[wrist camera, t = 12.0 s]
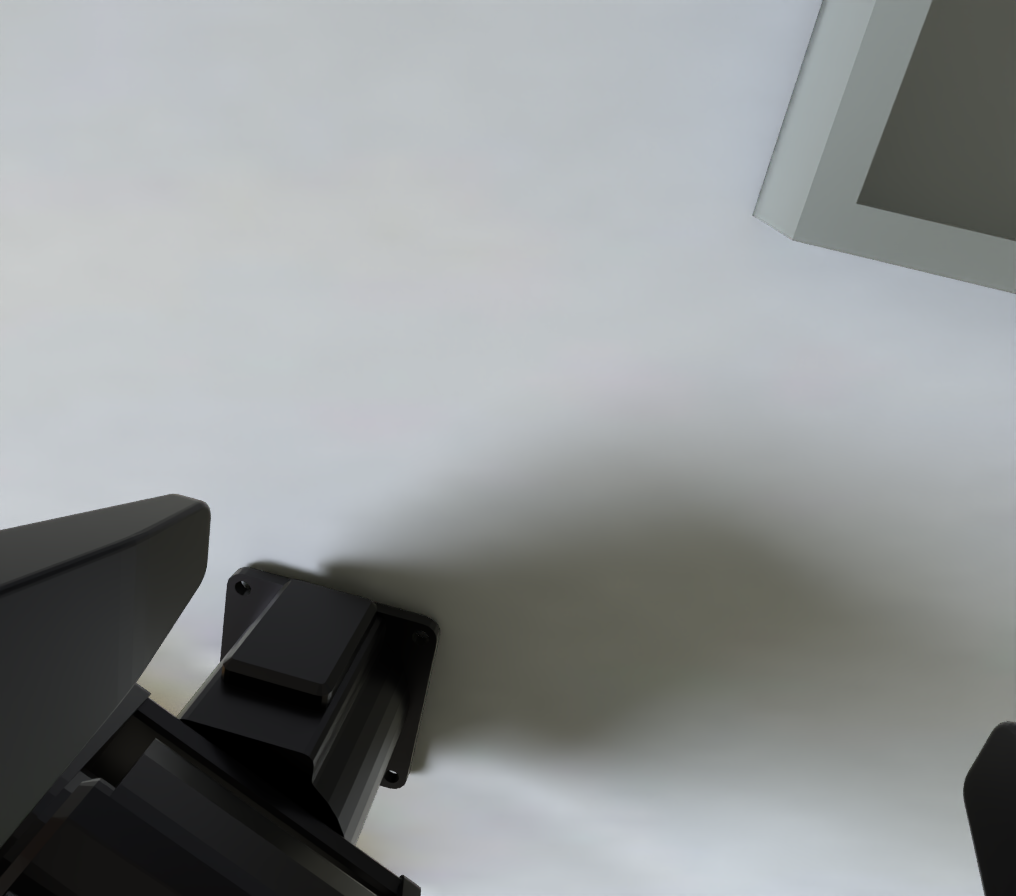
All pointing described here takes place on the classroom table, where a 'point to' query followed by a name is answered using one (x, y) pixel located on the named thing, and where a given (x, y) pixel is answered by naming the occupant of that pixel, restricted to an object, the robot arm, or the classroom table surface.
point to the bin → (904, 138)
